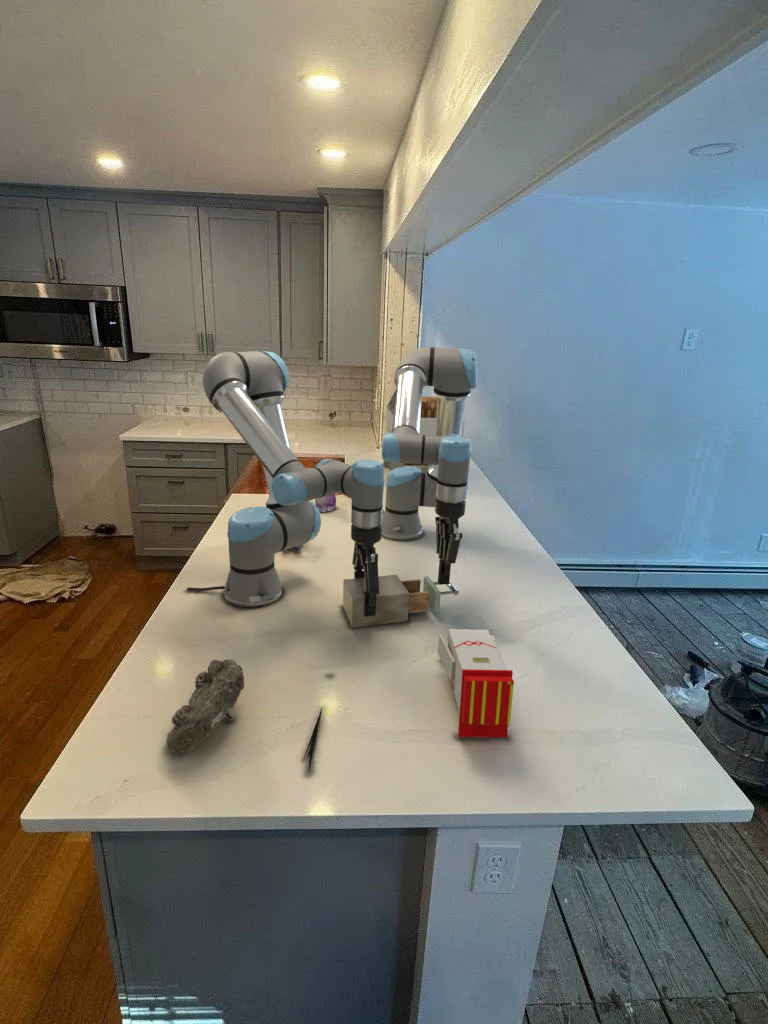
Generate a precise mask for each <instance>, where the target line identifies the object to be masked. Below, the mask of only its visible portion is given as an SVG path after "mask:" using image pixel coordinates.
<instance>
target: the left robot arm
mask: <svg viewBox="0 0 768 1024" xmlns="http://www.w3.org/2000/svg"><path fill="white" fill-rule="evenodd" d="M289 374H290V373H289V370H288V367H287V365H286V363H285V361H284V360H283V359H282V358H281V357H280V356H279V355H278V354H277V353H275V352H272V351H265V350H264V351H263V350H253V351H225V352H221V353H218V354H216V355H215V356H214V357H212V358H211V359H210V360H208V362H207V364H206V365H205V367H204V371H203V375H202V385H203V390H204V394H205V396H206V398H207V399H208V401H209V403H210V404H211V405H212V407H213V408H214V409H215V410H216V411H218V412H222V413H223V415H224V416H225V417H226V418H227V420H228V421H229V423H230V424H231V425H232V426H233V428H234V429H235V430H236V432H237V433H238V434H239V436H240V438H241V439H242V440H243V441H244V442H245V444H246V445H247V446H248V447H249V449H250V450H251V451H252V453H253V454H254V456H255V457H256V458H257V460H258V461H259V462H260V464H261V466H262V470H263V474H264V478H265V479H264V480H265V484H266V487H267V493H268V498H267V500H266V502H265V506H254V507H252V506H250V507H245V508H242V509H239V510H238V511H236V512H234V513H232V515H230V517H229V519H228V522H227V532H226V533H227V539H228V557H229V572H228V574H227V578H226V581H225V585H221V586H220V585H219V586H211V587H209V586H208V587H186V590H187V591H190V592H191V591H192V592H208V591H215V590H216V591H218V590H223V594H224V599H225V600H226V602H228V603H229V604H231V605H233V606H237V607H241V608H242V607H243V608H257V607H264V606H266V605H270V604H272V603H274V602H276V601H278V600H279V599H280V597H282V595H283V586H282V582H281V580H280V577H279V574H278V571H277V569H276V566H275V564H276V563H275V555H276V554H278V553H280V552H281V553H282V552H284V551H287V549H289V548H290V549H293V548H292V547H295V546H298V545H302V546H303V545H305V544H307V543H308V542H311V541H313V540H314V539H316V537H317V536H318V535H319V533H320V530H321V526H322V516H321V512H319V509H318V508H317V507H315V505H316V503H315V502H314V501H313V500H315V499H316V498H321V497H325V496H328V495H332V494H335V495H336V494H341V495H343V496H346V497H349V498H351V507H350V509H351V511H350V516H351V517H350V522H351V525H350V538H351V540H352V541H353V542H354V546H353V552H352V553H353V555H352V562H351V564H352V566H353V570H354V571H353V579H355V578H365V584H366V592H363V593H364V594H365V605H364V616H365V617H367V616H376V595H377V594H379V577H378V576H379V553H377V551H376V547H375V544H377V543H379V542H380V541H381V540H382V537H383V535H382V525H381V524H382V519H383V514H384V511H385V509H383V507H384V504H383V503H384V488H385V481H386V480H385V466H384V464H383V463H382V462H380V461H379V460H374V459H372V460H371V459H359V460H356V461H354V462H353V463H352V464H349V463H346V462H343V461H340V460H338V459H331V458H324V459H321V460H320V461H319V462H317V463H316V464H315V466H311V467H307V468H305V466H304V464H303V463H302V462H301V461H300V460H299V459H298V458H297V457H296V455H295V453H294V452H293V451H292V449H291V445H290V440H289V435H288V432H287V426H286V422H285V419H284V414H283V409H282V402H283V401H284V400H285V392H286V391H287V390H288V387H289V382H290V375H289ZM382 509H383V510H382ZM290 549H289V550H290Z"/></svg>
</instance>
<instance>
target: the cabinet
mask: <svg viewBox="0 0 768 1024" xmlns="http://www.w3.org/2000/svg"><path fill="white" fill-rule="evenodd" d="M378 577H379V594H377V595H376V616H367V617H365V616H364V605H365V594H364V593H363V592H366V584H365V578H355V579H354V578H346V579H343V584H342V585H343V587H342V591H343V592H342V606H343V607H342V608H343V610H344V613H345V614H346V617H347V620H348V622H349V623H350V627H351V628H352V629H353V628H361V627H370V626H378V625H388V624H394V623H403V622H408V620H409V613H408V606H409V592H408V591H407V589H406V588H405V586H404V585H403V583H402V582H401V581H402V580H401V579H400V577H399V576H398V574H387V575H378Z"/></svg>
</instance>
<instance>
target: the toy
mask: <svg viewBox="0 0 768 1024" xmlns="http://www.w3.org/2000/svg"><path fill="white" fill-rule="evenodd" d="M446 640H447V643H446V641H445V639H444V636H443V635H442V634H439V637H438V646H437V656H438V657H439V659H440V661H441V663H442V666H443V668H444V670H445V672H446V674H447V677H448V679H449V681H450V684H451V687H452V690H453V693H454V697H455V701H456V705H457V708H458V711H459V714H458V715H459V716H458V730H457V731H458V732H457V737H458V738H508V731H509V726H510V725H511V717H512V707H513V697H514V696H513V695H514V684H515V680H514V679H513V673H514V671H513V670H512V669H508V667H507V665H506V662H505V661H504V659H503V658H502V655H501V653H500V651H499V649H498V647H497V643H496V639H495V637H494V635H493V634H491V632H490V631H489V629H467V628H466V629H465V628H463V629H461V628H460V629H459V628H448V630H447V639H446Z"/></svg>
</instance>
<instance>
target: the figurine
mask: <svg viewBox="0 0 768 1024" xmlns="http://www.w3.org/2000/svg"><path fill="white" fill-rule="evenodd" d="M314 504H315V507H317V508H318V509H319V512H320V513H326V512H331V511H334V510H335V509H336V505H337V497H336V493H335V494H332V495H328V496H325V497H321V498H316V499H314Z"/></svg>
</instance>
